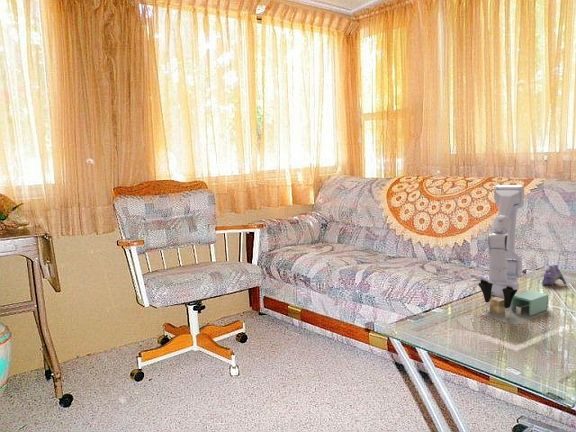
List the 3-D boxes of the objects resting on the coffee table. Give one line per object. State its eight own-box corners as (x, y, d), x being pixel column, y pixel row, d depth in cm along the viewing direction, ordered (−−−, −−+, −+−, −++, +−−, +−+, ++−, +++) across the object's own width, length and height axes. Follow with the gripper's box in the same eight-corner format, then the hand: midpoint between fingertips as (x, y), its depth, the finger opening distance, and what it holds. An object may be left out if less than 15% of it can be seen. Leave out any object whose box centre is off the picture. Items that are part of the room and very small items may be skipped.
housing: (511, 309, 165) (511, 295, 165) (528, 303, 170) (528, 289, 170) (530, 315, 159) (531, 300, 158) (547, 309, 164) (548, 294, 164)
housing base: (480, 317, 164) (480, 307, 163) (517, 304, 175) (517, 294, 174) (515, 328, 153) (515, 317, 152) (552, 314, 164) (552, 303, 163)
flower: (571, 268, 196) (548, 257, 197) (573, 281, 189) (549, 270, 191) (557, 282, 202) (535, 272, 203) (559, 295, 195) (536, 285, 196)
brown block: (489, 311, 166) (489, 298, 165) (495, 309, 168) (496, 296, 167) (498, 314, 163) (498, 301, 162) (505, 311, 165) (505, 299, 164)
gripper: (472, 265, 167) (472, 301, 169) (510, 273, 155) (509, 312, 157) (485, 262, 171) (484, 297, 172) (523, 269, 158) (521, 308, 160)
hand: (497, 304), depth 165 cm, fingers open, 7 cm apart
